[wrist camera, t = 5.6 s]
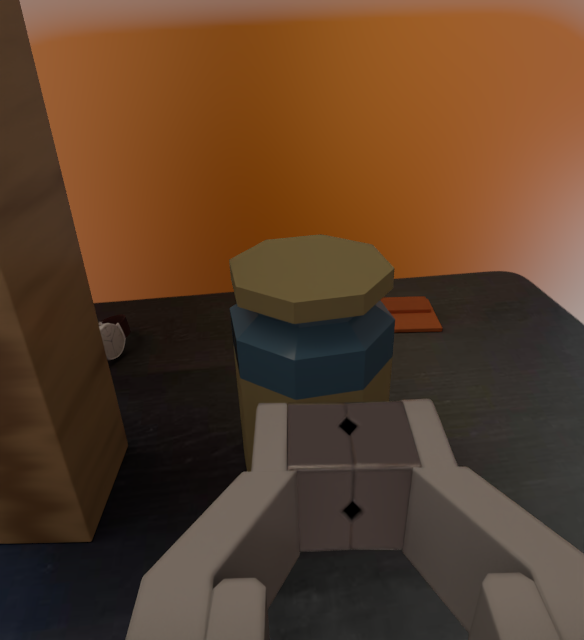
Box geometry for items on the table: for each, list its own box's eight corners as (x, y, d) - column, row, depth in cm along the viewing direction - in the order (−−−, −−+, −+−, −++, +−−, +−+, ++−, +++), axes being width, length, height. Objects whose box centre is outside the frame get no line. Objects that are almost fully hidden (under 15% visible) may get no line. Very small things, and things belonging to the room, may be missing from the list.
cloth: (427, 302, 55) (428, 295, 54) (441, 331, 50) (443, 324, 49) (294, 305, 55) (294, 298, 55) (294, 335, 50) (294, 328, 49)
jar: (261, 420, 39) (247, 229, 32) (385, 433, 38) (400, 236, 30) (225, 519, 31) (194, 298, 24) (378, 542, 30) (397, 312, 22)
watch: (90, 383, 44) (80, 347, 42) (47, 372, 45) (36, 337, 44) (145, 338, 50) (138, 304, 48) (105, 330, 52) (97, 297, 50)
